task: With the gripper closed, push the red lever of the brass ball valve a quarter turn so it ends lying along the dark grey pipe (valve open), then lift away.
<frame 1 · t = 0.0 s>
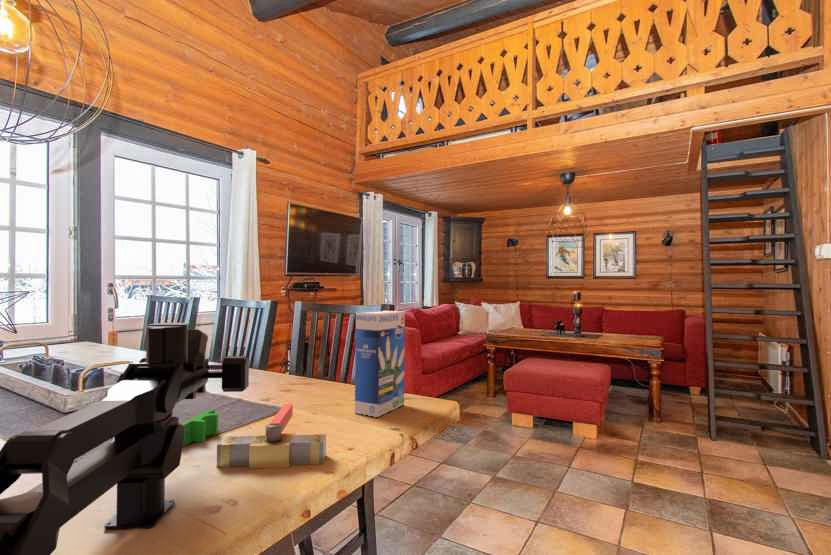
hand: (212, 365, 86), 17 cm above the table, tool horizontal, fingers open, 9 cm apart
pipe clamp: (201, 439, 91), on the table
lever: (280, 421, 86), point 6 cm above the table, hinge at 0.0°
string lights box: (379, 410, 112), on the table
butter knife: (119, 451, 85), on the table
valve: (273, 460, 80), on the table
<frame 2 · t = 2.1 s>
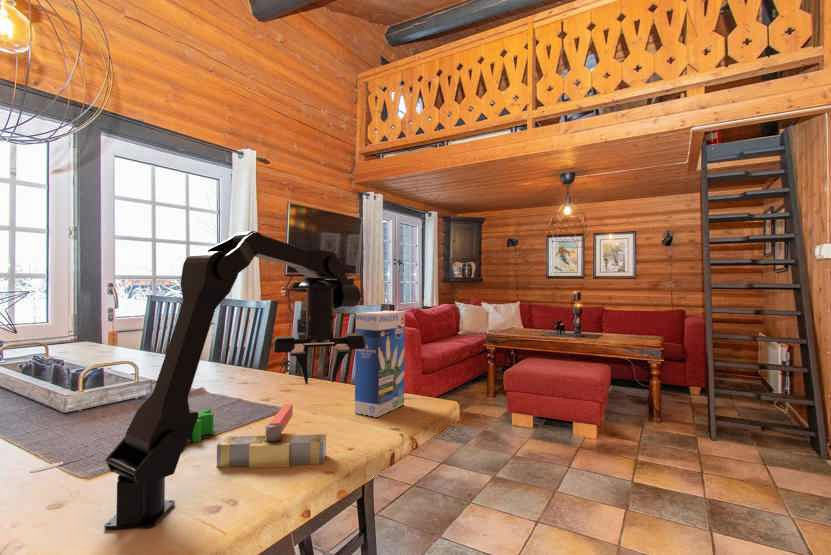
hand: (319, 382, 91), 12 cm above the table, tool pointing down, fingers open, 5 cm apart
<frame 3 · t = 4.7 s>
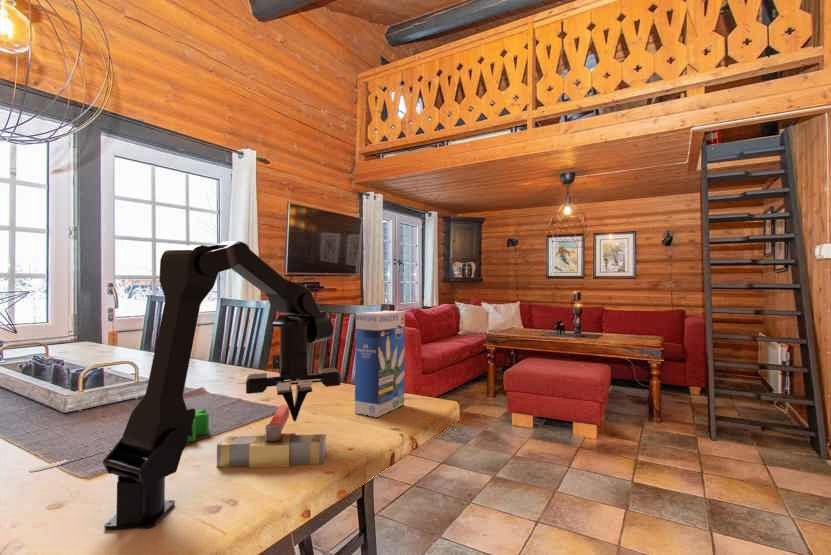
hand: (294, 420, 90), 4 cm above the table, tool pointing down, fingers closed
pipe clamp: (192, 438, 92), on the table
lever: (279, 421, 86), point 6 cm above the table, hinge at 3.2°, touching gripper
everything else where it was.
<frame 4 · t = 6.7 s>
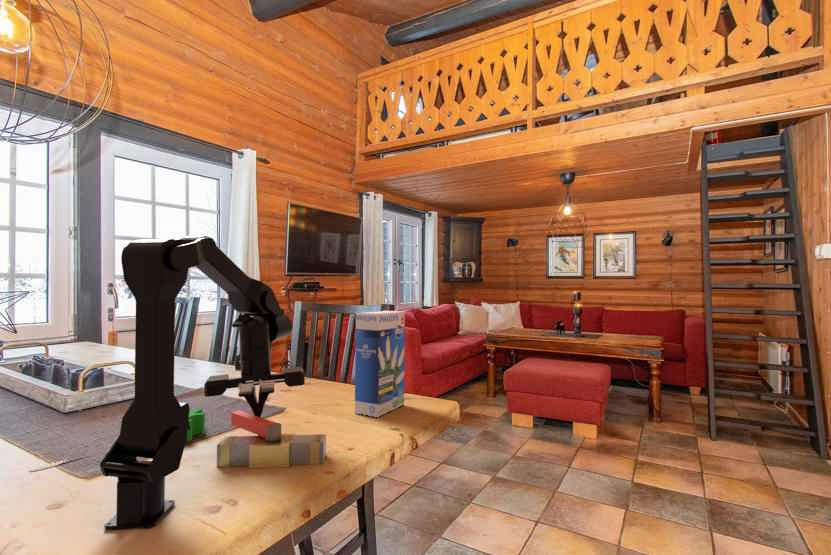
hand: (258, 422, 87), 5 cm above the table, tool pointing down, fingers closed
lever: (255, 424, 83), point 6 cm above the table, hinge at 48.6°, touching gripper
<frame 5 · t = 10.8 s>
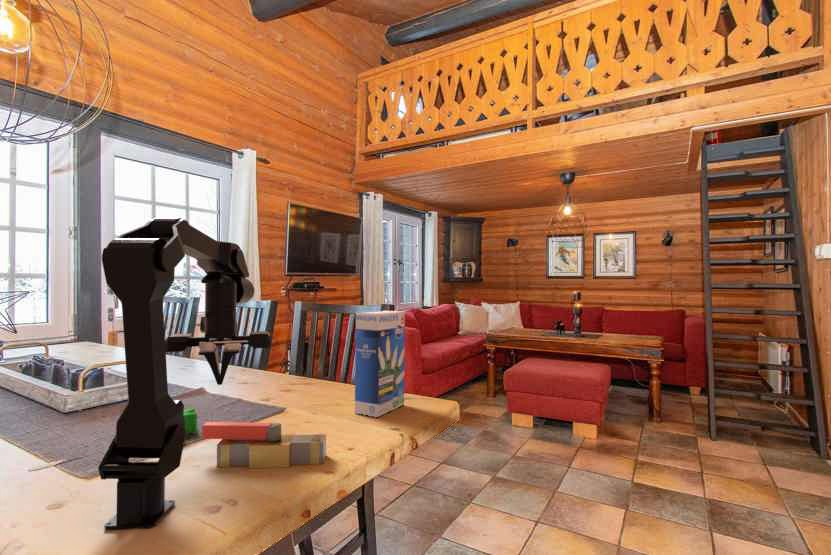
hand: (220, 384, 85), 13 cm above the table, tool pointing down, fingers closed
pipe clamp: (180, 438, 92), on the table
lever: (242, 431, 80), point 6 cm above the table, hinge at 84.9°
at the end: lever at +85° (first picture: +0°) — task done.
